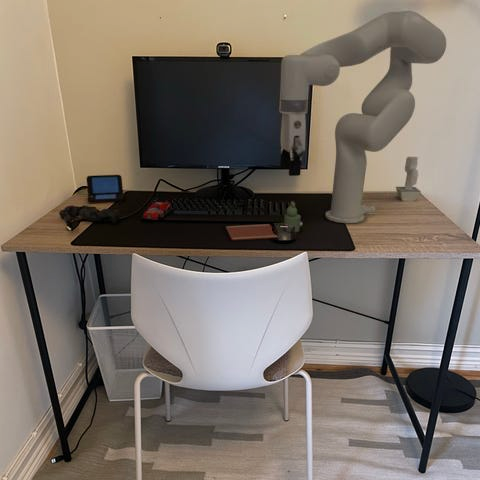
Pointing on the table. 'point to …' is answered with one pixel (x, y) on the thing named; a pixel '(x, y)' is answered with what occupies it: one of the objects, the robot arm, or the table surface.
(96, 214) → the robot figurine
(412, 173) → the figurine
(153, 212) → the race car
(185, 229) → the table surface
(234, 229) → the reddish brown flat tray
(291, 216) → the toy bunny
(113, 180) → the handheld game console
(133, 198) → the table surface
